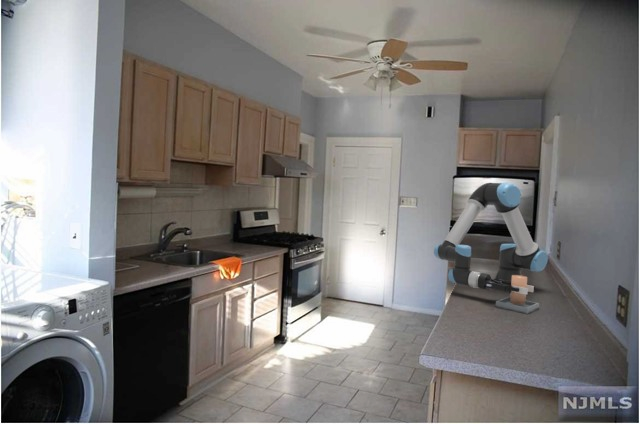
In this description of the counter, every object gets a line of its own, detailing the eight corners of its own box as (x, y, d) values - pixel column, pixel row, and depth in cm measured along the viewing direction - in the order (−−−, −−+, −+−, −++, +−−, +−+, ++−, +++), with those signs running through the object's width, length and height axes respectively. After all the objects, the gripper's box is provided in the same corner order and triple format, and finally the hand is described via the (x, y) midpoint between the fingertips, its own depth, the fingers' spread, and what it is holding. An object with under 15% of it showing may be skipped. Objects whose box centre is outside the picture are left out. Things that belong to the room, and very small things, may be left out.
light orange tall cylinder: (513, 299, 205) (515, 274, 204) (527, 303, 200) (529, 276, 199) (507, 302, 200) (509, 275, 199) (522, 305, 196) (524, 278, 195)
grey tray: (507, 301, 210) (508, 296, 210) (538, 308, 200) (539, 303, 200) (495, 306, 200) (495, 301, 200) (527, 314, 191) (527, 308, 190)
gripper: (488, 285, 219) (537, 295, 203) (470, 291, 206) (521, 302, 190) (489, 270, 219) (538, 279, 203) (471, 275, 205) (522, 284, 189)
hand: (530, 290), depth 196 cm, fingers closed on light orange tall cylinder, 6 cm apart
